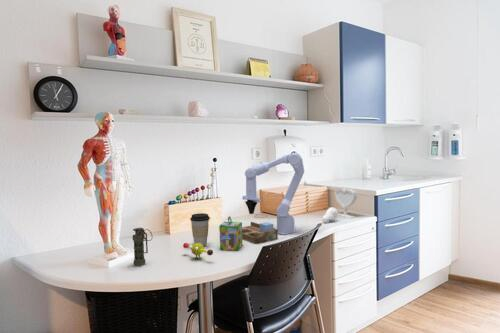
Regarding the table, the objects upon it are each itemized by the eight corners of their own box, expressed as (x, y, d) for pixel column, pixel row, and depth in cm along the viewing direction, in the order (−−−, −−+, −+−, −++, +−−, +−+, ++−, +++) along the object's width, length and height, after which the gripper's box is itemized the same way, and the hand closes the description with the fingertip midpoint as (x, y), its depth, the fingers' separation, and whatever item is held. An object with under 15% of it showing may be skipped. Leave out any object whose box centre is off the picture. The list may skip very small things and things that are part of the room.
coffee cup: (187, 247, 163) (186, 216, 162) (196, 242, 172) (196, 212, 171) (204, 249, 160) (204, 217, 159) (213, 243, 169) (213, 213, 168)
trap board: (252, 230, 193) (252, 221, 192) (277, 239, 175) (277, 229, 175) (231, 234, 185) (231, 225, 184) (255, 244, 167) (255, 234, 166)
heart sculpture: (333, 214, 233) (334, 187, 232) (339, 213, 236) (339, 187, 234) (352, 218, 220) (352, 190, 219) (357, 217, 223) (357, 189, 222)
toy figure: (179, 256, 151) (178, 240, 150) (188, 252, 155) (188, 238, 155) (206, 265, 139) (206, 248, 139) (216, 261, 144) (216, 245, 143)
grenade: (135, 268, 136) (133, 231, 135) (129, 264, 141) (127, 229, 140) (155, 263, 142) (154, 227, 141) (149, 259, 147) (148, 225, 146)
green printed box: (238, 251, 157) (238, 219, 156) (219, 250, 159) (218, 218, 158) (243, 245, 166) (242, 215, 165) (224, 244, 168) (224, 214, 167)
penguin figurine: (338, 207, 211) (326, 212, 204) (339, 220, 212) (327, 225, 205) (330, 206, 216) (318, 210, 209) (331, 219, 217) (319, 224, 210)
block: (267, 231, 179) (267, 222, 179) (273, 233, 175) (273, 223, 174) (259, 233, 176) (259, 223, 176) (265, 235, 172) (265, 225, 172)
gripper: (237, 188, 193) (238, 212, 194) (253, 191, 181) (253, 216, 182) (248, 187, 197) (248, 211, 198) (263, 190, 186) (263, 215, 187)
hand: (251, 213), depth 191 cm, fingers closed
